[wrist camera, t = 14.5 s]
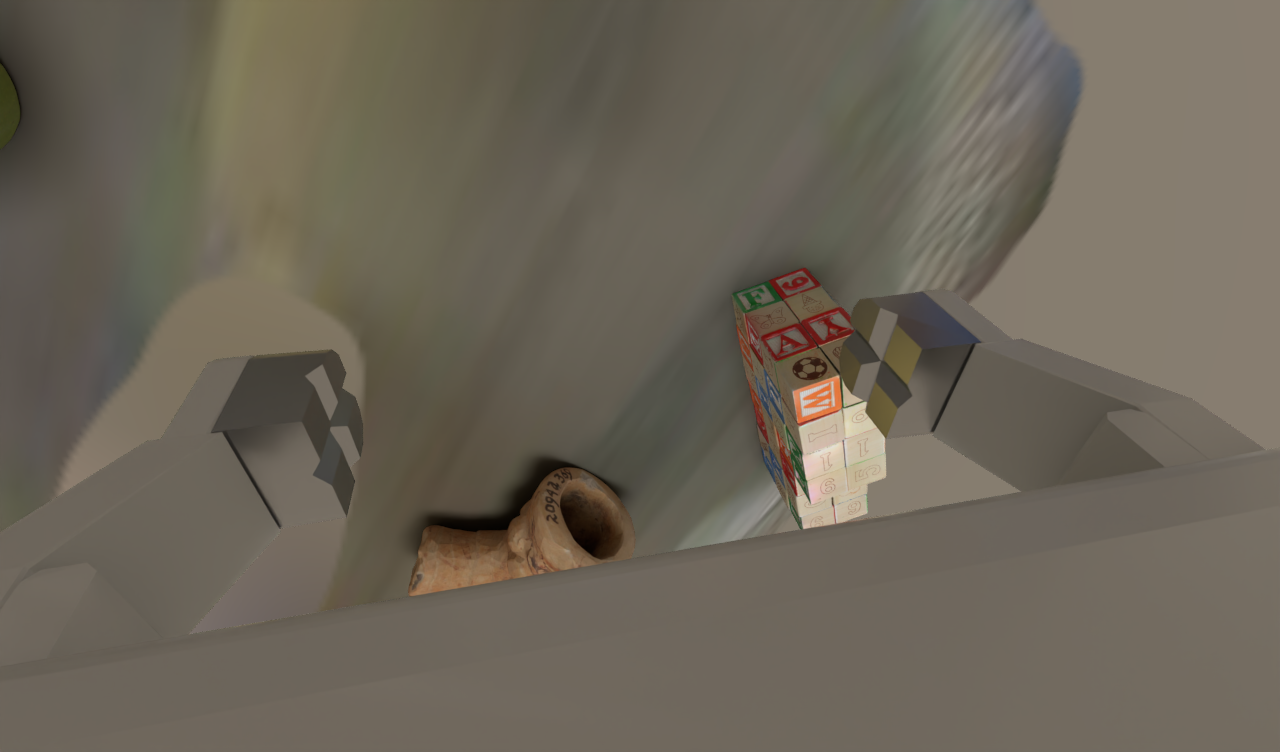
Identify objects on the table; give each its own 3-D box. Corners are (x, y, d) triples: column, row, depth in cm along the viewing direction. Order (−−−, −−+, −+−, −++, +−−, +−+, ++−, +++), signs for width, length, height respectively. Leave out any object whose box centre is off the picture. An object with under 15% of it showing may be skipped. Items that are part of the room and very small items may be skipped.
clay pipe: (595, 515, 64) (644, 454, 53) (605, 617, 58) (662, 573, 47) (413, 515, 57) (424, 444, 46) (403, 630, 51) (413, 582, 40)
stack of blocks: (821, 441, 58) (886, 543, 49) (763, 462, 59) (816, 567, 49) (804, 264, 45) (890, 358, 35) (728, 292, 45) (794, 393, 35)
